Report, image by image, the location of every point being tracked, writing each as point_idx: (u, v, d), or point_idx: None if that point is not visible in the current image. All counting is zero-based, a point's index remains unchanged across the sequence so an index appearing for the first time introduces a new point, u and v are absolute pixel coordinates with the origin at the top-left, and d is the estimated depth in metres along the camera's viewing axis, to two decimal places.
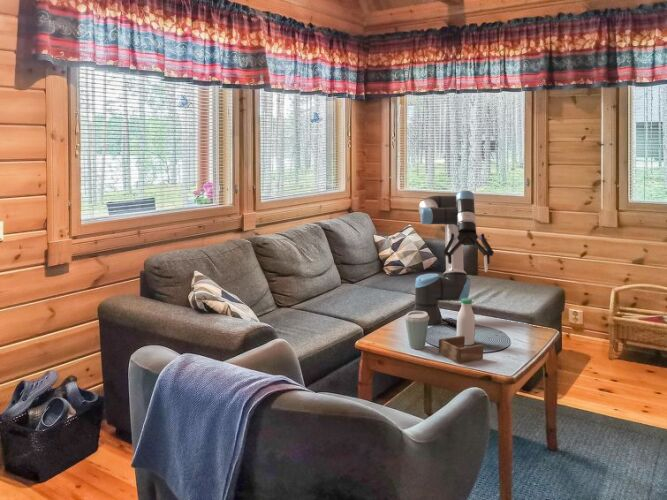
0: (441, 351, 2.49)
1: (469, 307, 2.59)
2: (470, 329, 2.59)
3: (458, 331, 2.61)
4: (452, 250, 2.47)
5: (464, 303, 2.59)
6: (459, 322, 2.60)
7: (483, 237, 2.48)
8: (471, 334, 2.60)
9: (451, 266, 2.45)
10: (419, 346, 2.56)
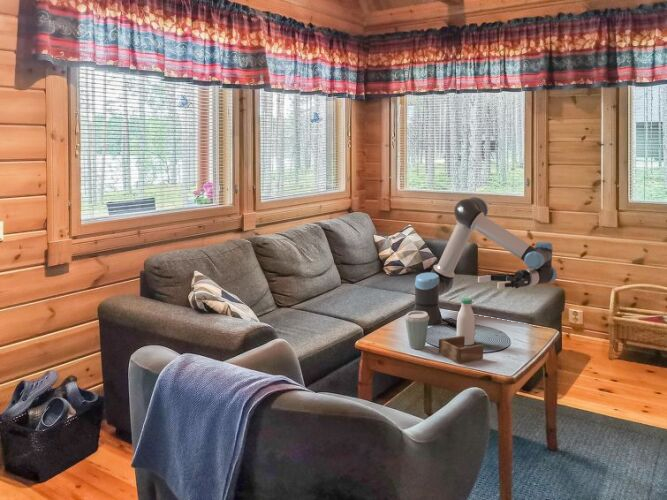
0: (441, 351, 2.49)
1: (469, 307, 2.59)
2: (470, 329, 2.59)
3: (458, 331, 2.61)
4: None
5: (464, 303, 2.59)
6: (459, 322, 2.60)
7: None
8: (471, 334, 2.60)
9: (501, 285, 2.58)
10: (419, 346, 2.56)
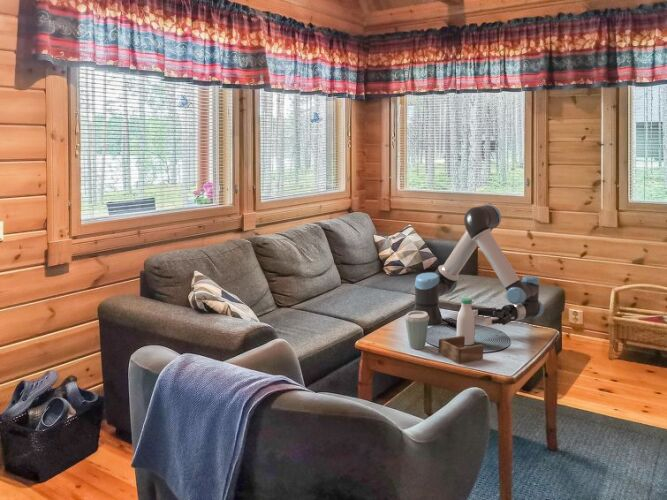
0: (441, 351, 2.49)
1: (469, 307, 2.59)
2: (470, 329, 2.59)
3: (458, 331, 2.61)
4: None
5: (464, 303, 2.59)
6: (459, 322, 2.60)
7: None
8: (471, 334, 2.60)
9: (488, 322, 2.57)
10: (419, 346, 2.56)
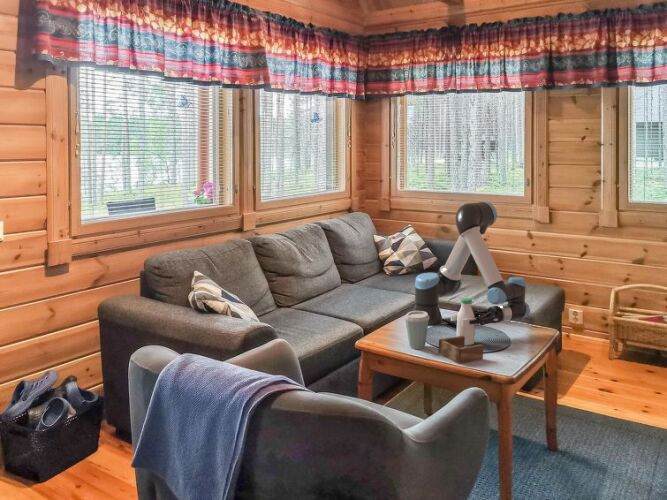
0: (441, 351, 2.49)
1: (469, 307, 2.59)
2: (470, 328, 2.59)
3: (458, 331, 2.61)
4: None
5: (464, 303, 2.59)
6: (459, 322, 2.60)
7: None
8: (471, 334, 2.60)
9: (466, 323, 2.57)
10: (419, 346, 2.56)
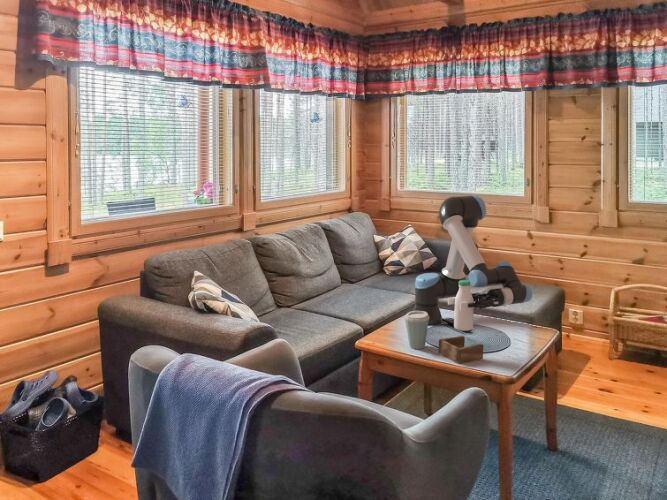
0: (441, 351, 2.49)
1: (467, 289, 2.41)
2: (468, 313, 2.41)
3: (456, 315, 2.43)
4: None
5: (462, 285, 2.41)
6: (457, 306, 2.42)
7: None
8: (470, 318, 2.42)
9: (464, 306, 2.39)
10: (419, 346, 2.56)
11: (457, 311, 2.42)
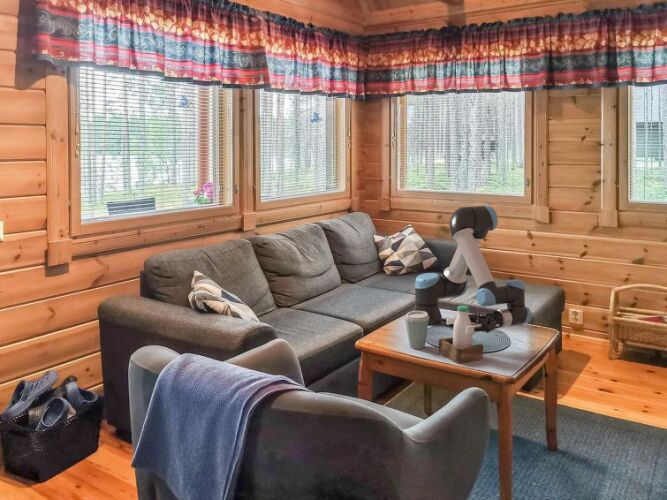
0: (441, 351, 2.49)
1: (466, 315, 2.43)
2: (467, 338, 2.43)
3: (454, 341, 2.45)
4: None
5: (460, 311, 2.43)
6: (455, 331, 2.44)
7: None
8: (468, 344, 2.44)
9: (470, 330, 2.38)
10: (419, 346, 2.56)
11: (456, 336, 2.44)
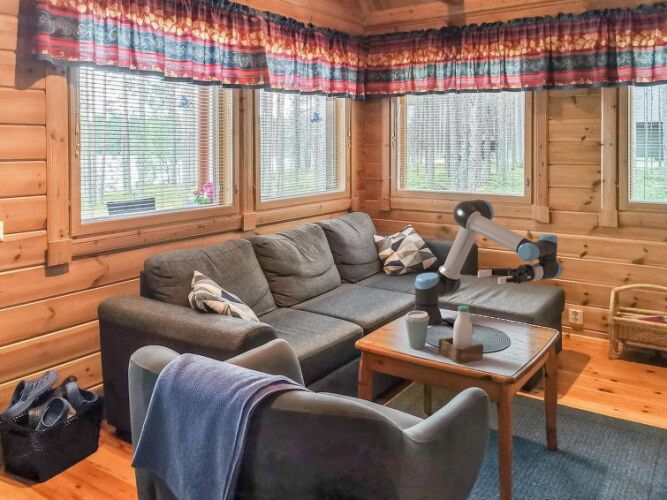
0: (441, 351, 2.49)
1: (466, 315, 2.43)
2: (467, 338, 2.43)
3: (455, 341, 2.45)
4: None
5: (461, 311, 2.43)
6: (456, 331, 2.44)
7: None
8: (468, 344, 2.44)
9: (502, 281, 2.42)
10: (419, 346, 2.56)
11: (456, 336, 2.44)
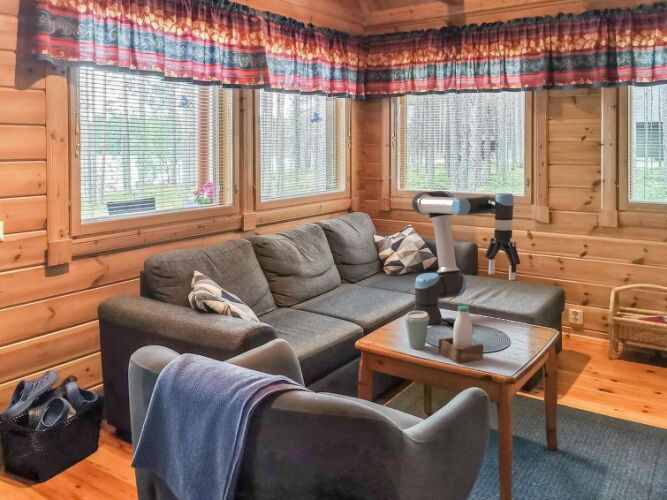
0: (441, 351, 2.49)
1: (466, 315, 2.43)
2: (467, 338, 2.43)
3: (455, 341, 2.45)
4: None
5: (461, 311, 2.43)
6: (456, 331, 2.44)
7: None
8: (468, 344, 2.44)
9: (513, 275, 2.57)
10: (419, 346, 2.56)
11: (456, 336, 2.44)
